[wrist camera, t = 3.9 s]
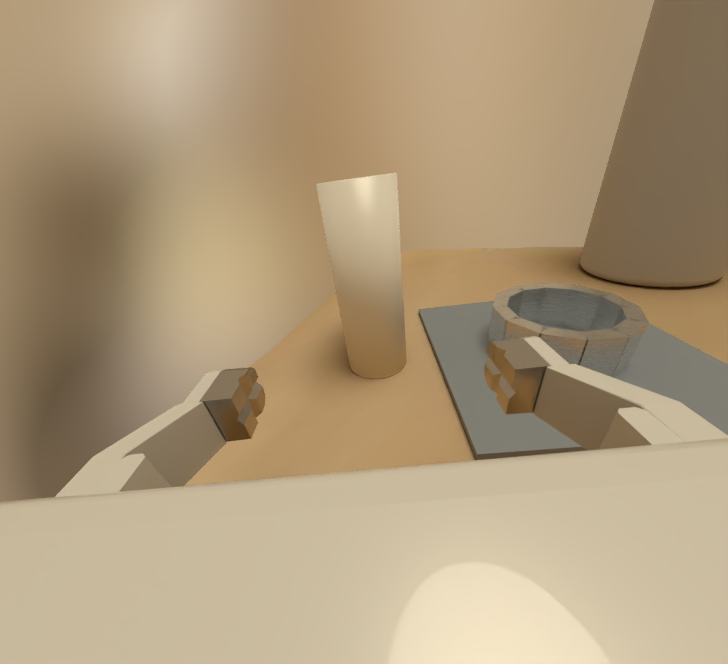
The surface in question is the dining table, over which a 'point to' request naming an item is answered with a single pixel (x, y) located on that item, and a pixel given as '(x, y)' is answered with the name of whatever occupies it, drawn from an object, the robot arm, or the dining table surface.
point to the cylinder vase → (669, 157)
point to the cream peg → (367, 270)
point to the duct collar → (572, 323)
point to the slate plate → (527, 431)
